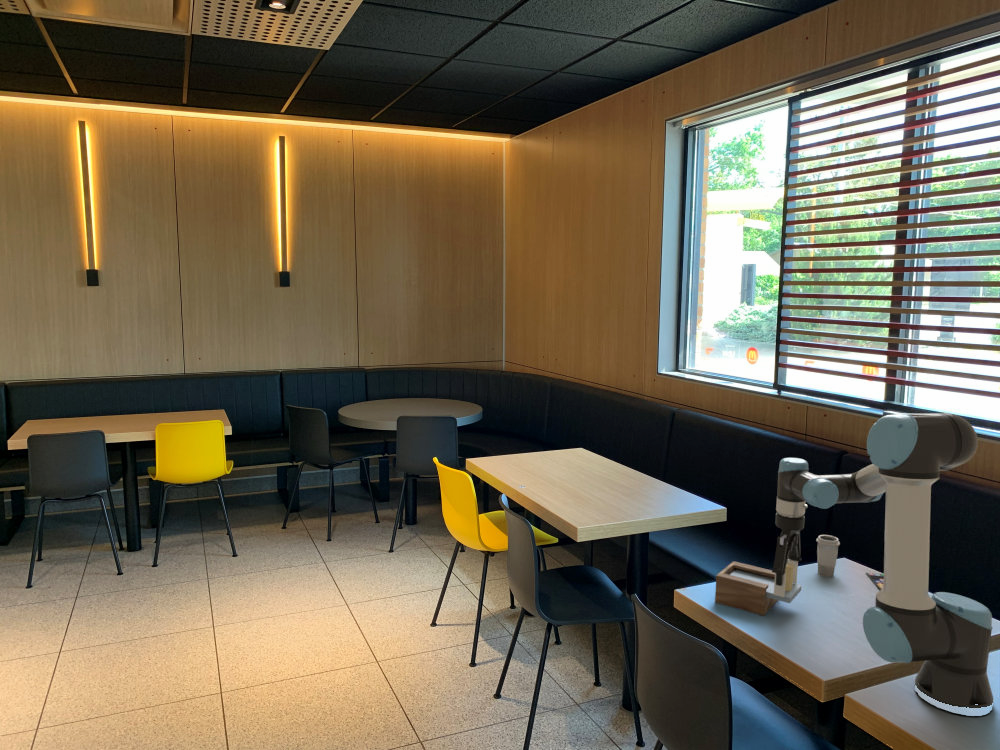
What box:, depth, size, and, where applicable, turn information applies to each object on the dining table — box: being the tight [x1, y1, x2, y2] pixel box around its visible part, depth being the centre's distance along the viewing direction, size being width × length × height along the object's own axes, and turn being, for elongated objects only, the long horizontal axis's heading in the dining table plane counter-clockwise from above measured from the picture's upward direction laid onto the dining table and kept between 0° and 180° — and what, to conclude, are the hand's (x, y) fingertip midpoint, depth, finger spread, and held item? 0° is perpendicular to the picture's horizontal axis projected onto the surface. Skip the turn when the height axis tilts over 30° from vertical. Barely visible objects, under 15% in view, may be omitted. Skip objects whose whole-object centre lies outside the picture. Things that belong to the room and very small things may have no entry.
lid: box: [730, 564, 802, 604], centre depth 214 cm, size 11×19×8 cm, turn 53°
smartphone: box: [865, 572, 884, 591], centre depth 231 cm, size 8×15×1 cm, turn 171°
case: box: [714, 561, 779, 617], centre depth 217 cm, size 14×14×8 cm
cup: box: [815, 534, 841, 578], centre depth 237 cm, size 7×7×12 cm
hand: (785, 588), depth 210 cm, fingers closed on lid, 11 cm apart
